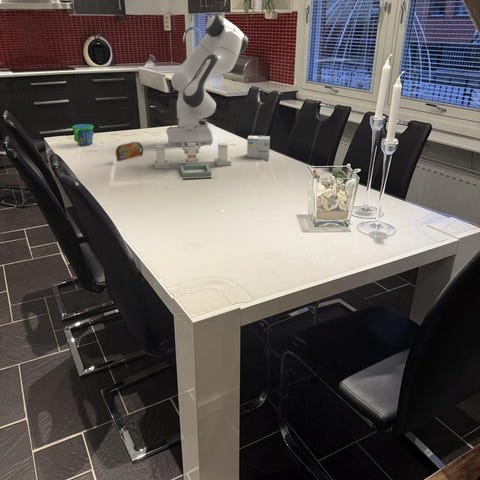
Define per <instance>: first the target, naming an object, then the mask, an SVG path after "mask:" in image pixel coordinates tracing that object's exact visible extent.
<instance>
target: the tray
mask: <svg viewBox="0 0 480 480" xmlns="http://www.w3.org/2000/svg"><path fill="white" fill-rule="evenodd" d="M179 169H180V173H181V175H182V177H183V178H182V181H194V180H195V181H196V180H199V181H200V180H212V170H211V169H210V167H208V165H184V166H180V168H179ZM186 170H206V171H192V172H189V171H188V172H185V171H186Z"/></svg>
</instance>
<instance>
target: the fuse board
mask: <svg viewBox="0 0 480 480" xmlns="http://www.w3.org/2000/svg"><path fill="white" fill-rule="evenodd" d="M184 165H208V167H209V168H217V167H218V168H219V167H232V160H231V159H230V157H229V156H227V160H225V161H219V160H218V157H214V160H213V161H201V160H200V159H199V158H197V157H196V162H188V161H187V158H184V162H169V159H165V163H157V159H153V168H154V170H168V169H169V170H171V169H172V170H173V169H180V166H184Z"/></svg>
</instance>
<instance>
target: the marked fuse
mask: <svg viewBox="0 0 480 480" xmlns="http://www.w3.org/2000/svg"><path fill="white" fill-rule="evenodd" d="M186 148H187V149H188V154H186V156H187V158H186V159H187V161H188V162H196V159H197V153H196V148H197V146H196V143H195V142H188V143H187V146H186Z"/></svg>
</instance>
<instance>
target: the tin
mask: <svg viewBox="0 0 480 480" xmlns="http://www.w3.org/2000/svg"><path fill="white" fill-rule="evenodd" d="M143 154H144V147H143V145H142V143H140V142H138V141H130V142H127V143H123V144H120V145H118V146H117V147H116V149H115V157H116V159H117V160H118V161H124V160H125V161H126V160H127V159H132V158H137V157H142V156H143Z"/></svg>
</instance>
